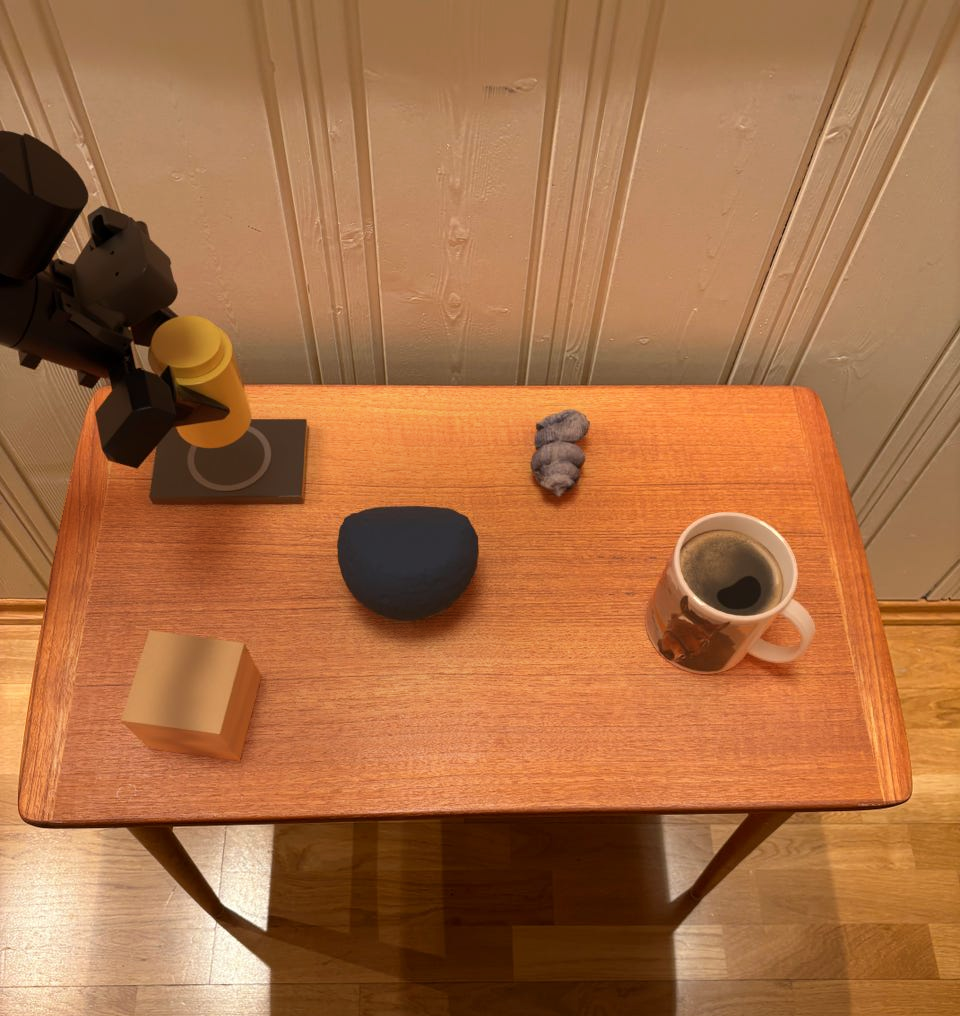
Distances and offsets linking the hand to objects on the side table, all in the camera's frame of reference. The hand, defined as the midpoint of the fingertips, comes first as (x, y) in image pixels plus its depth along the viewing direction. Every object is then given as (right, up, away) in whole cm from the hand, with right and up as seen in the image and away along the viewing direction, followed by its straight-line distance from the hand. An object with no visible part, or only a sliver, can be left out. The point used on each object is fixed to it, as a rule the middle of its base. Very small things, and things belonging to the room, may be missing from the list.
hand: (218, 382), depth 71 cm
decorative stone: (+15, -16, +8) cm, 23 cm away
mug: (+42, -20, +7) cm, 47 cm away
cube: (-2, -27, +2) cm, 27 cm away
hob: (-3, -4, +13) cm, 14 cm away
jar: (-1, -2, +3) cm, 4 cm away
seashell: (+29, -4, +14) cm, 32 cm away
